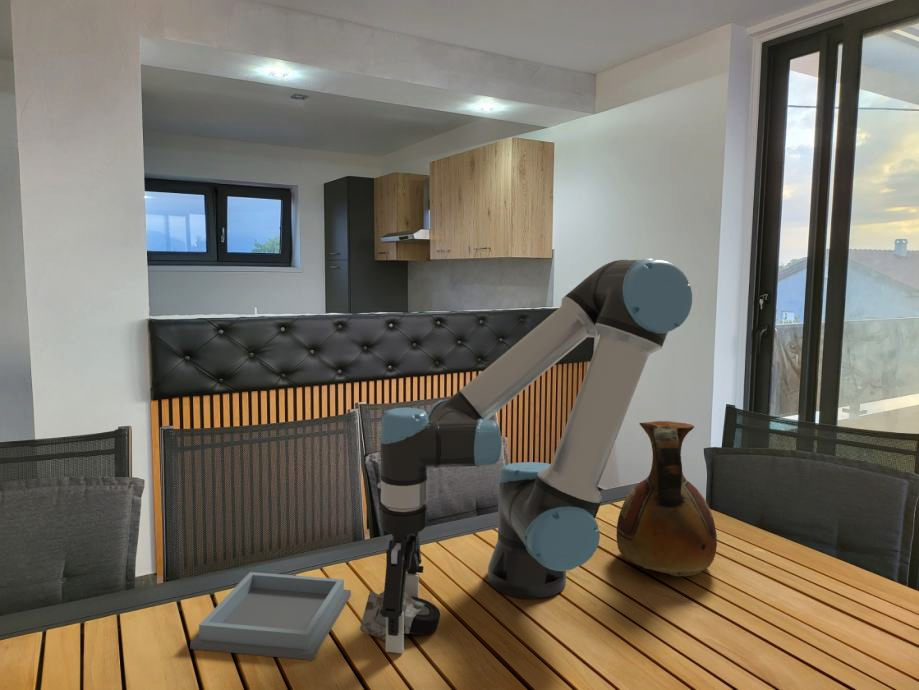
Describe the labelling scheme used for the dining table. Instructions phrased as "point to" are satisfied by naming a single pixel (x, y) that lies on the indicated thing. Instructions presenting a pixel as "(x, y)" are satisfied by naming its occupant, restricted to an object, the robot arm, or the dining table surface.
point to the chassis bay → (274, 616)
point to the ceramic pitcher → (667, 511)
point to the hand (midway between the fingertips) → (403, 629)
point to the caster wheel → (416, 616)
